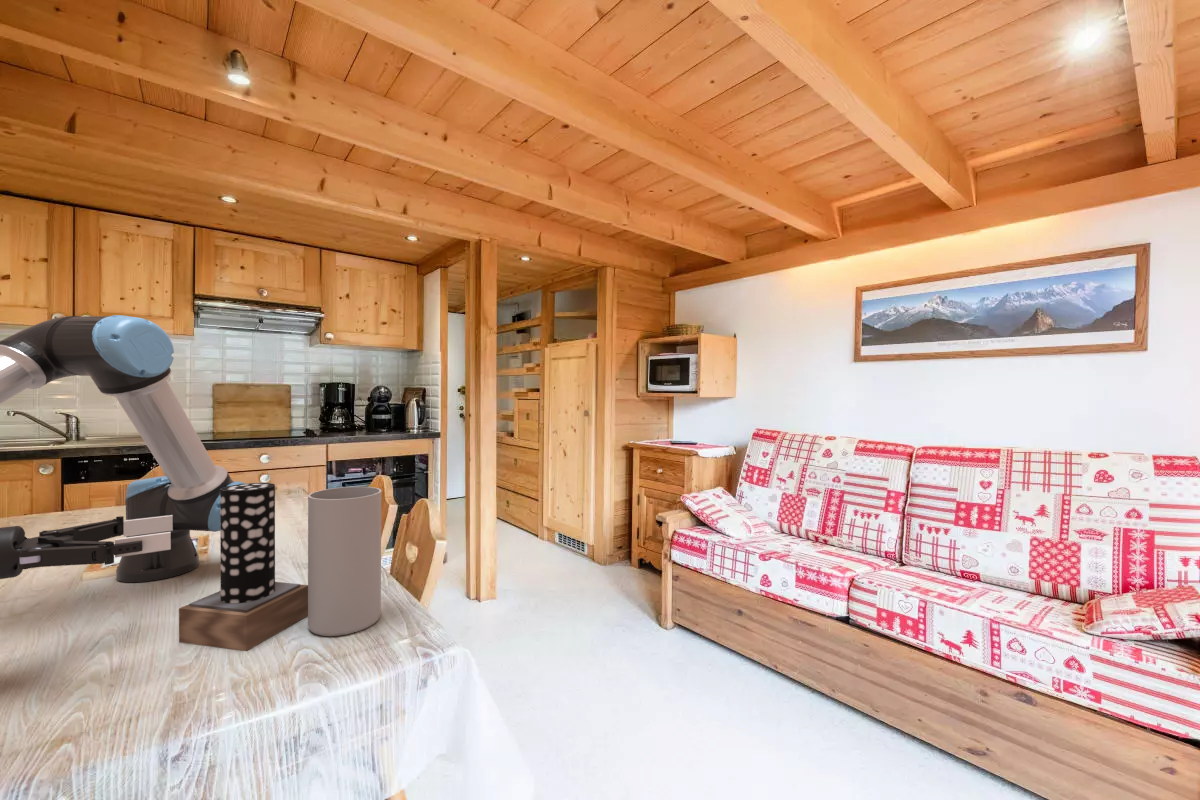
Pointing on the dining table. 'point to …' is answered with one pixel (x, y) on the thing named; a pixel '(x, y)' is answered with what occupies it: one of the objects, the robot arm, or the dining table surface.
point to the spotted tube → (247, 542)
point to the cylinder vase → (344, 560)
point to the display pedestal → (242, 618)
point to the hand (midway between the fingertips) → (172, 531)
